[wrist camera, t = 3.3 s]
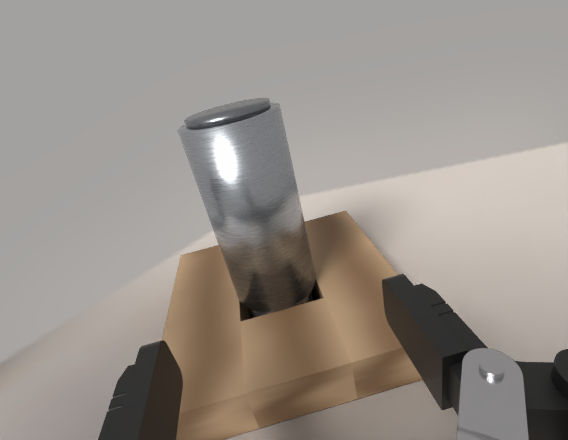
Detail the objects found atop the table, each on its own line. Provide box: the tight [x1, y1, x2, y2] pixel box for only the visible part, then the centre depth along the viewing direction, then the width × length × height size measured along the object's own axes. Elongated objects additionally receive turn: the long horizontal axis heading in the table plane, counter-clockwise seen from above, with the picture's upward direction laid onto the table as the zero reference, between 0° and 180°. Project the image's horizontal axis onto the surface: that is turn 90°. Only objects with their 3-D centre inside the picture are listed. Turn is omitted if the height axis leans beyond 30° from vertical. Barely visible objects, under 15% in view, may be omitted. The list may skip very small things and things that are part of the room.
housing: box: [162, 211, 423, 440], centre depth 25 cm, size 16×16×3 cm
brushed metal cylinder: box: [178, 98, 316, 318], centre depth 22 cm, size 6×6×15 cm
